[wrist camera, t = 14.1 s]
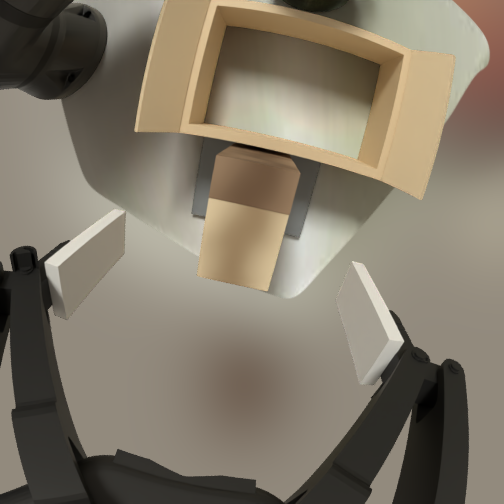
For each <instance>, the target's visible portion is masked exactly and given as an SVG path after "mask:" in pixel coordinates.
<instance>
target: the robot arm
mask: <svg viewBox="0 0 504 504" xmlns="http://www.w3.org/2000/svg"><path fill="white" fill-rule="evenodd" d="M73 1H74V0H0V90H1V89H11V88H18V89H20V90H22V91H24V92H26V93H28V94H30V95H32V96H34V97H36V98H39V99H44V100H49V99H50V100H51V99H61V98H64V97H67V96H69V95H71V94H72V93H74V92H75V91H77V90H78V89H79V88H80V87H81V86H82V85H83V84H84V83H85V82H86V81H87V80H88V79H89V78H90V76H91V75H92V74H93V72H94V71H95V69H96V67H97V66H98V64H99V62H100V60H101V57H102V55H103V52H104V49H105V45H106V38H107V28H106V23H105V20H104V18H103V16H102V14H101V13H100V12H99V11H98V10H96V9H94V8H92V7H90V6H88V5H86V4H81V3H72V2H73ZM125 216H126V211H123V210H118V209H114V210H112V211H111V212H109V213H108V214H106V215H105V216H104V217H102V218H101V219H99V220H98V221H97V222H95V223H94V224H93V225H91V226H90V227H88V228H87V229H86V230H84V231H83V232H82V233H80V234H79V235H78V236H77V237H75V238H74V239H73V240H71V241H70V240H68V241H65V242H63V243H60V244H59V245H58V246H57V247H55V248H54V249H53V250H51V251H50V252H49V253H48V254H47V255H45V256H44V257H43V258H41V259H40V260H39V261H38V259H37V251H36V249H35V248H34V247H31V246H23V247H19V248H16V249H14V250H13V251H12V252H11V254H10V259H11V264H12V269H13V271H4V270H3V265H2V263H1V262H0V366H1V362H2V357H3V353H4V349H5V344H6V340H7V337H8V333H9V329H10V346H11V347H10V348H11V367H12V379H13V387H14V395H15V402H16V408H15V409H12V413H11V414H12V422H13V428H14V433H15V438H16V442H17V447H18V451H19V455H20V459H21V463H22V466H23V470H24V474H25V477H26V480H27V483H28V484H26V485H24V486H21V487H19V488H16V489H14V490H11V491H9V492H6V493H3V494H0V504H365V502H366V501H367V499H368V498H369V496H370V494H371V492H372V489H371V488H370V485H371V483H372V481H373V480H374V478H375V477H376V475H377V473H378V472H379V470H380V468H381V467H382V465H383V463H384V461H385V460H386V458H387V456H388V455H389V453H390V451H391V449H392V448H393V446H394V444H395V442H396V440H397V438H398V436H399V434H400V432H401V430H402V428H403V426H404V424H405V422H406V420H407V418H408V416H409V414H410V412H411V409H412V415H411V422H410V428H409V434H408V440H407V445H406V450H405V455H404V460H403V464H402V469H401V473H400V477H399V481H398V485H397V489H396V492H395V496H394V499H393V503H392V504H465V496H466V487H467V474H468V453H469V431H468V430H469V427H468V406H467V393H466V382H465V374H464V370H463V368H462V367H461V365H460V364H459V363H458V362H456V361H454V360H452V359H446V360H445V361H444V362H443V363H442V364H441V366H439V365H437V364H434V363H431V362H430V359H429V356H428V355H427V354H426V352H424V351H423V350H422V349H420V348H418V347H414V346H413V344H412V343H411V340H410V338H409V336H408V334H407V332H406V331H405V328H404V327H403V325H402V323H401V321H400V319H399V317H398V316H397V315H396V314H395V313H394V312H393V311H391V310H388V308H387V306H386V304H385V302H384V301H383V299H382V297H381V295H380V293H379V291H378V289H377V288H376V286H375V284H374V282H373V280H372V279H371V277H370V275H369V273H368V272H367V270H366V268H365V266H364V264H362V263H358V262H354V261H352V262H351V264H350V266H349V269H348V271H347V273H346V276H345V278H344V281H343V283H342V285H341V288H340V290H339V293H338V295H337V297H336V299H335V301H336V304H337V307H338V310H339V314H340V317H341V320H342V323H343V326H344V330H345V334H346V337H347V340H348V344H349V347H350V351H351V354H352V358H353V362H354V365H355V369H356V372H357V376H358V380H359V384H363V385H374V384H375V383H376V382H377V380H378V379H379V378H380V376H381V379H382V382H383V383H382V384H381V386H380V387H379V388H378V390H377V391H376V392H375V393H374V395H373V396H372V397H371V398H372V399H371V401H370V402H369V403H368V405H367V406H366V408H365V409H364V411H363V412H362V414H361V415H360V416H359V418H358V419H357V421H356V422H355V423H354V425H353V426H352V427H351V429H350V430H349V431H348V433H347V434H346V435H345V437H344V438H343V439H342V440H341V442H340V443H339V444H338V445H337V447H336V448H335V449H334V450H333V452H332V453H331V454H330V455H329V456H328V457H327V459H326V460H325V461H324V462H323V463H322V464H321V466H320V467H319V468H318V469H317V470H316V471H315V472H314V473H313V475H312V476H311V477H310V478H309V479H308V480H307V481H306V482H305V483H304V484H303V485H302V486H301V487H300V488H299V490H297V491H296V492H295V493H294V494H293V495H292V496H291V497H289V498H288V499H287V500H286V501H285V502H282V501H281V500H280V499H278V498H277V497H276V496H274V495H272V494H271V493H269V492H267V491H265V490H262V489H260V488H256V480H251V479H243V478H235V477H228V476H195V477H186V476H182V475H179V474H177V473H175V472H173V471H171V470H169V469H167V468H165V467H163V466H161V465H159V464H157V463H155V462H154V461H152V460H150V459H147V458H143V457H140V456H137V455H134V454H131V453H128V452H125V451H122V450H119V449H117V452H116V455H115V456H113V455H99V456H92V457H88V458H87V456H86V454H85V452H84V450H83V448H82V445H81V443H80V441H79V438H78V436H77V433H76V430H75V427H74V424H73V421H72V418H71V415H70V411H69V408H68V405H67V401H66V398H65V395H64V391H63V386H62V382H61V378H60V374H59V370H58V365H57V361H56V356H55V350H54V346H53V339H52V333H51V326H50V319H49V314H48V309H49V308H50V307H51V305H52V306H53V311H54V315H55V316H58V317H60V318H63V319H66V320H68V319H69V317H70V316H71V315H72V314H73V312H74V311H75V310H76V309H77V308H78V306H79V305H80V304H81V303H82V301H83V300H84V299H85V298H86V297H87V295H88V294H89V293H90V292H91V291H92V290H93V288H94V287H95V286H96V285H97V284H98V283H99V281H100V280H101V279H102V278H103V277H104V276H105V275H106V273H107V272H108V271H109V270H110V269H111V268H112V266H114V265H115V263H116V262H117V261H118V260H119V259H120V258H121V257H122V256H123V255H124V248H125Z"/></svg>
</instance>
